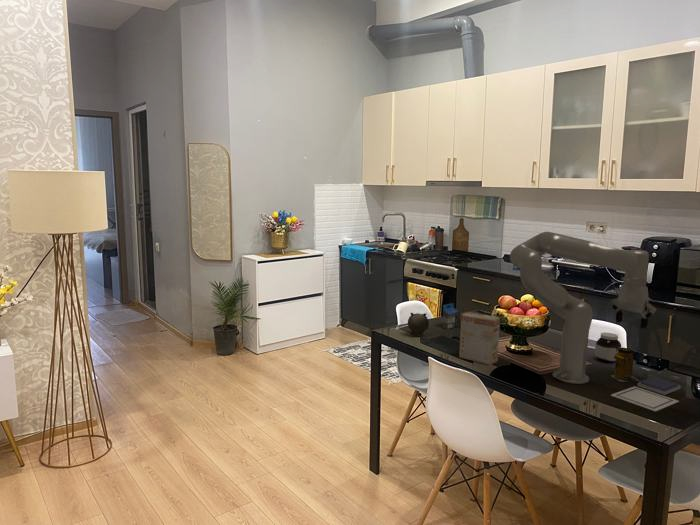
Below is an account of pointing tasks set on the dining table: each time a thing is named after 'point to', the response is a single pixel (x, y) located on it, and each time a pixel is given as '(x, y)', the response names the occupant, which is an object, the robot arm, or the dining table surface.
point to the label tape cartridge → (450, 316)
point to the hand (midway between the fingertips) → (630, 325)
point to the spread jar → (607, 347)
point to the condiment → (624, 365)
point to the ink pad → (659, 385)
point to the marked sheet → (644, 398)
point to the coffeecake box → (479, 337)
